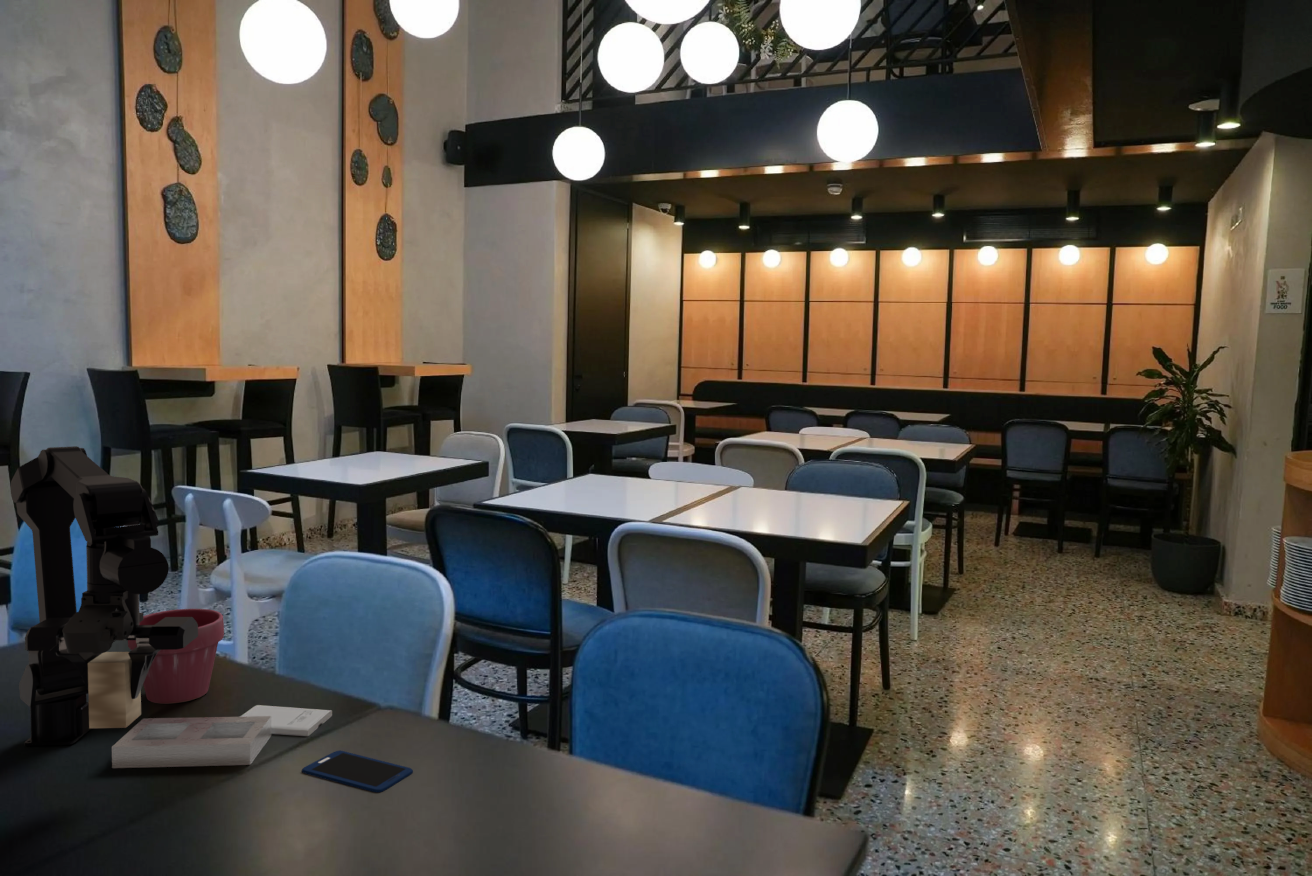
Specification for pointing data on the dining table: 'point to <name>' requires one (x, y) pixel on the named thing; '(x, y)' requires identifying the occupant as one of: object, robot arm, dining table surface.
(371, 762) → the cell phone
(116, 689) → the maple peg
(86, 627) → the robot arm
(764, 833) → the dining table surface
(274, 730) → the external hard drive
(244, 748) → the double square frame
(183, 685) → the plant pot
